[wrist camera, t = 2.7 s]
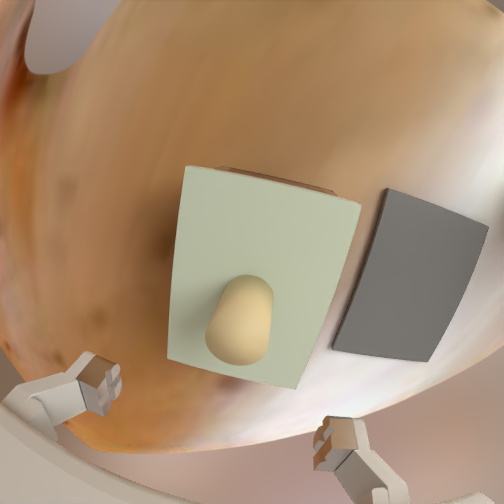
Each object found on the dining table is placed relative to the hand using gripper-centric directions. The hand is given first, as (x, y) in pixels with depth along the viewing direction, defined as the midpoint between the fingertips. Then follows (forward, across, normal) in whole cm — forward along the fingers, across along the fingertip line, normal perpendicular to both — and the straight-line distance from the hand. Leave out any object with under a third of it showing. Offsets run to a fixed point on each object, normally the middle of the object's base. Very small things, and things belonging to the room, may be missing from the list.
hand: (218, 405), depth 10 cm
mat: (+16, -15, 0) cm, 22 cm away
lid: (+9, 0, 0) cm, 9 cm away
